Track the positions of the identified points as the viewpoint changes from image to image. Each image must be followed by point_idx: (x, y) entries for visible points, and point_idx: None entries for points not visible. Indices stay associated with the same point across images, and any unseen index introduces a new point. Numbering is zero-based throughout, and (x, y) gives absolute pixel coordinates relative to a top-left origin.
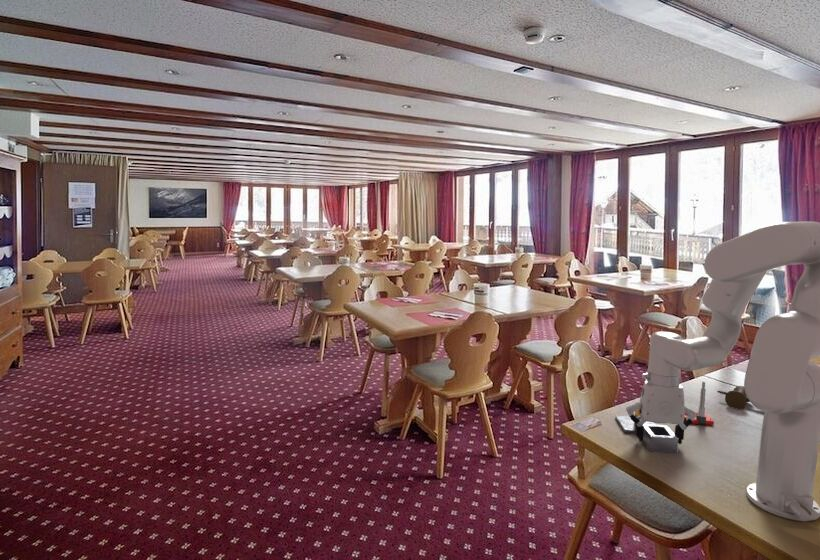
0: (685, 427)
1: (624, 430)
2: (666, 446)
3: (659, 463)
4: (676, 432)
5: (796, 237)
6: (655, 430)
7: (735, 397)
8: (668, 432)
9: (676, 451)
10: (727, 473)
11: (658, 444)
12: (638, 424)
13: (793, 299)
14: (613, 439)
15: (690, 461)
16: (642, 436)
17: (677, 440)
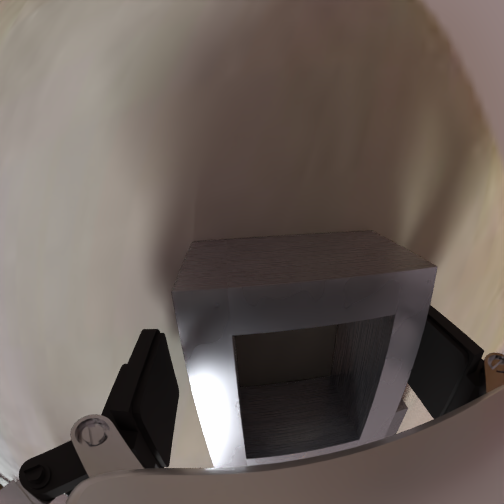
0: (81, 434)
1: (404, 407)
2: (279, 248)
3: (360, 66)
4: (164, 416)
5: None
6: (299, 428)
7: None
8: (238, 400)
9: (196, 245)
10: (8, 69)
11: (346, 249)
12: (500, 364)
13: None
14: (471, 318)
15: (134, 133)
16: (428, 318)
17: (182, 281)
